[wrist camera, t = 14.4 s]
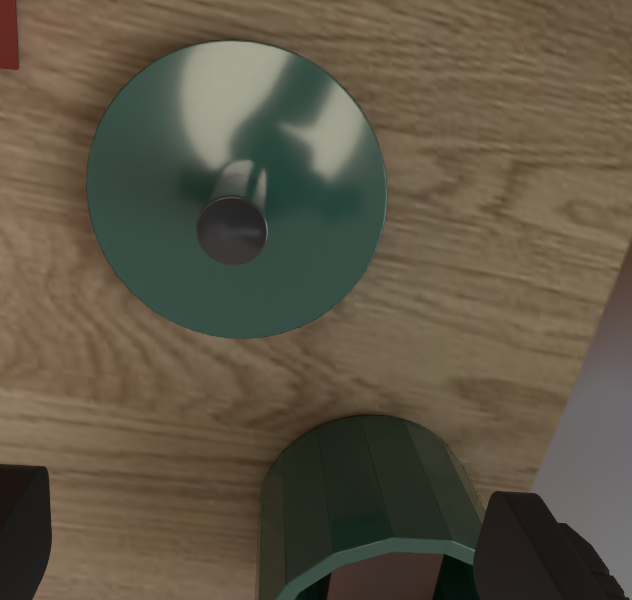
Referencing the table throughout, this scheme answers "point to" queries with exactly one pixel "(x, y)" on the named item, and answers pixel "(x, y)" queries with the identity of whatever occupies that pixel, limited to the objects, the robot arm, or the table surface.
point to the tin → (365, 507)
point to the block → (384, 578)
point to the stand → (8, 35)
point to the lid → (236, 189)
